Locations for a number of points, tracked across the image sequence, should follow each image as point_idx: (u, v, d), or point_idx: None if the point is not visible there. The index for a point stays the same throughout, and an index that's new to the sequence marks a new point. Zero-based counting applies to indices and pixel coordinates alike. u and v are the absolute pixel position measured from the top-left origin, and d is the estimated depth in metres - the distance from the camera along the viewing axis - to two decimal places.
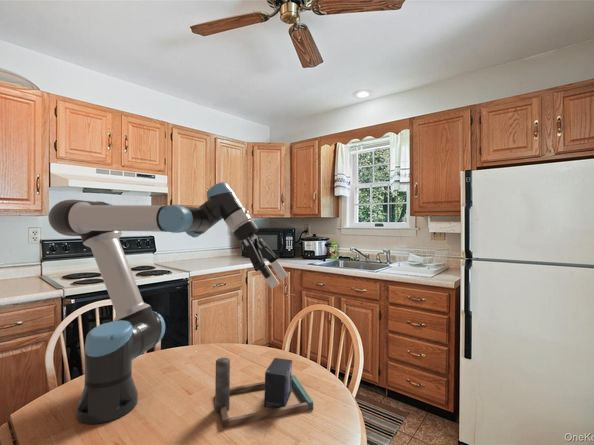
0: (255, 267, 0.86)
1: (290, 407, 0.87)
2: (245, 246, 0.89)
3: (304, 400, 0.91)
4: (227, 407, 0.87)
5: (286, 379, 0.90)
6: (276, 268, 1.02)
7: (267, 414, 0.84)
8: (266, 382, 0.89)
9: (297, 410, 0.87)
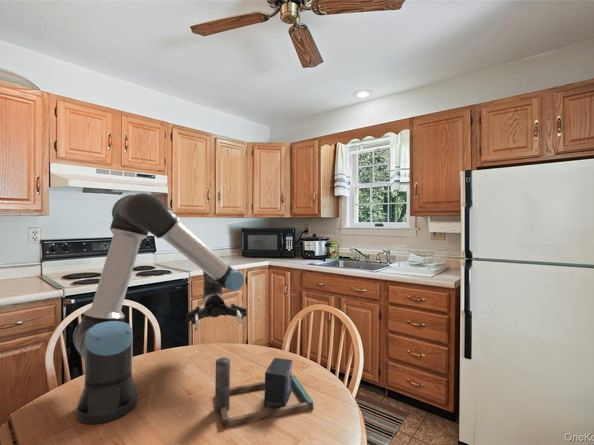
0: (246, 310, 1.08)
1: (290, 407, 0.87)
2: None
3: (304, 400, 0.91)
4: (227, 407, 0.87)
5: (286, 379, 0.90)
6: None
7: (267, 414, 0.84)
8: (266, 382, 0.89)
9: (297, 410, 0.87)
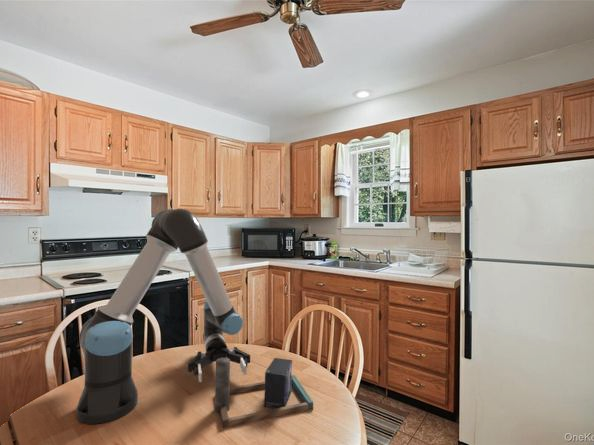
0: None
1: (290, 407, 0.87)
2: None
3: (304, 400, 0.91)
4: (227, 407, 0.87)
5: (286, 379, 0.90)
6: None
7: (267, 414, 0.84)
8: (266, 382, 0.89)
9: (297, 410, 0.87)
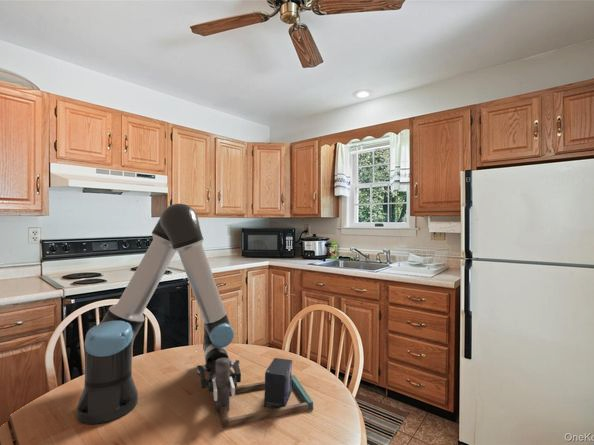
0: (240, 375, 0.92)
1: (290, 407, 0.87)
2: (238, 364, 0.99)
3: (304, 400, 0.91)
4: (227, 407, 0.87)
5: (286, 379, 0.90)
6: None
7: (267, 414, 0.84)
8: (266, 382, 0.89)
9: (297, 410, 0.87)
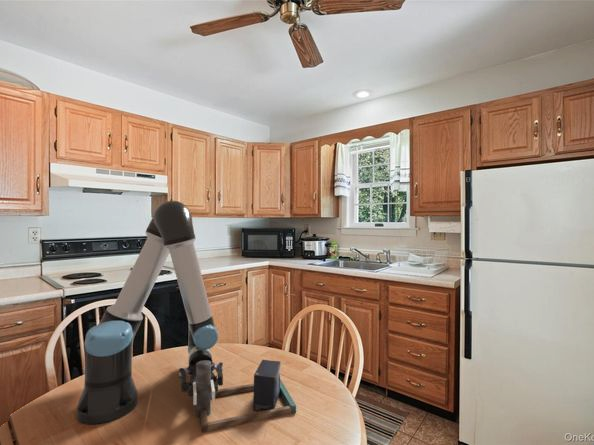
0: (222, 378, 0.90)
1: (272, 411, 0.85)
2: (221, 366, 0.97)
3: (287, 403, 0.89)
4: (208, 411, 0.85)
5: (275, 381, 0.89)
6: None
7: (248, 418, 0.82)
8: (255, 385, 0.88)
9: (279, 414, 0.85)
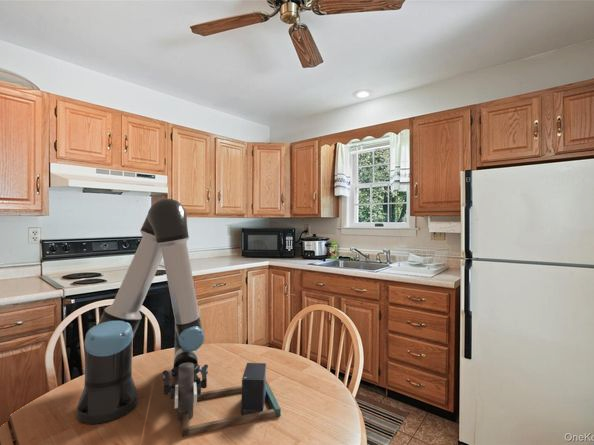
0: (205, 380, 0.88)
1: (256, 414, 0.83)
2: (206, 368, 0.96)
3: (272, 406, 0.88)
4: (190, 414, 0.84)
5: (264, 383, 0.87)
6: None
7: (230, 422, 0.81)
8: (243, 389, 0.85)
9: (263, 417, 0.84)
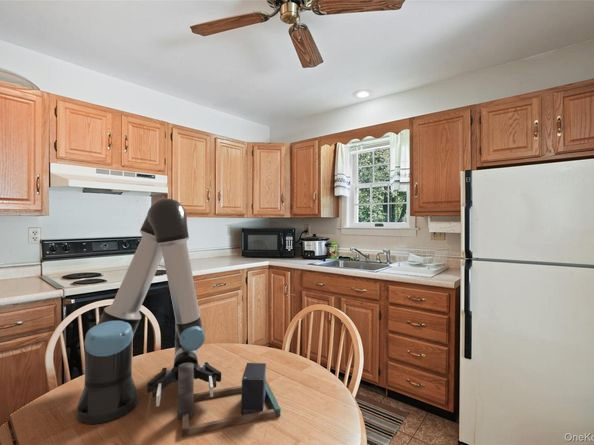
0: None
1: (255, 414, 0.83)
2: None
3: (272, 406, 0.88)
4: (190, 414, 0.84)
5: (264, 383, 0.87)
6: (160, 391, 0.83)
7: (230, 422, 0.81)
8: (243, 389, 0.85)
9: (263, 417, 0.84)
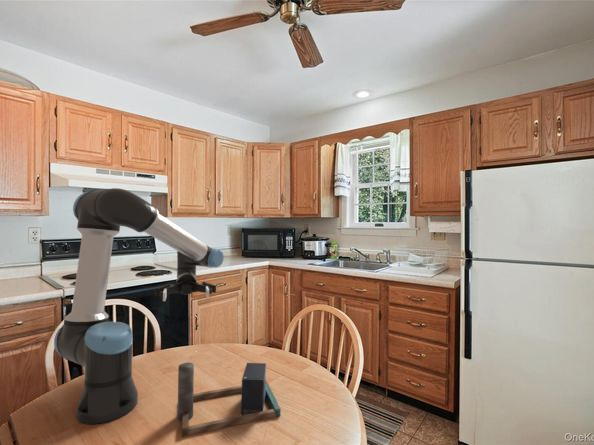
0: (215, 286, 1.11)
1: (255, 414, 0.83)
2: None
3: (272, 406, 0.88)
4: (190, 414, 0.84)
5: (264, 383, 0.87)
6: None
7: (230, 422, 0.81)
8: (243, 389, 0.85)
9: (263, 417, 0.84)
